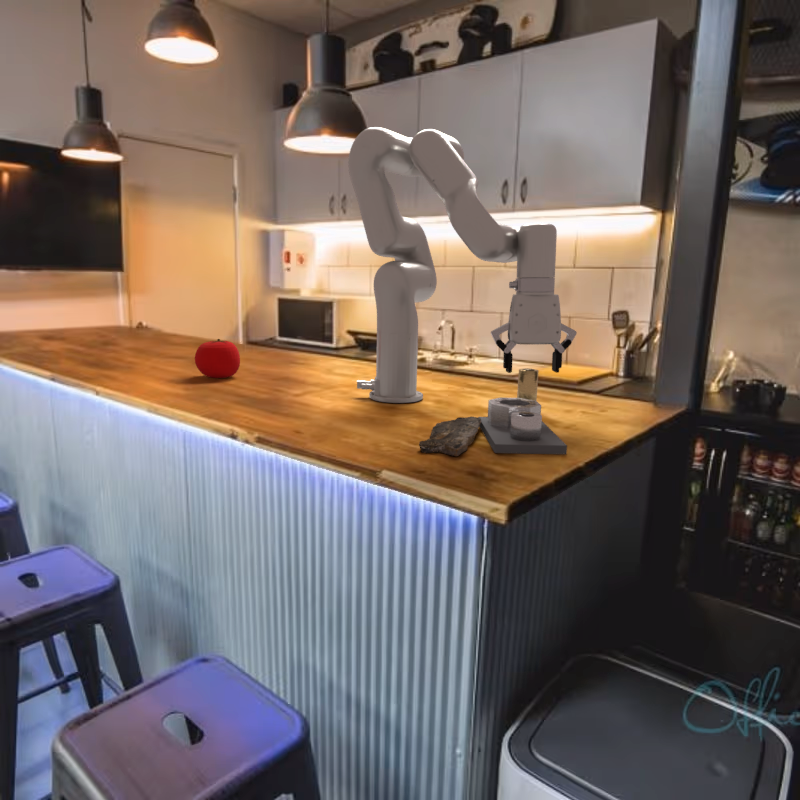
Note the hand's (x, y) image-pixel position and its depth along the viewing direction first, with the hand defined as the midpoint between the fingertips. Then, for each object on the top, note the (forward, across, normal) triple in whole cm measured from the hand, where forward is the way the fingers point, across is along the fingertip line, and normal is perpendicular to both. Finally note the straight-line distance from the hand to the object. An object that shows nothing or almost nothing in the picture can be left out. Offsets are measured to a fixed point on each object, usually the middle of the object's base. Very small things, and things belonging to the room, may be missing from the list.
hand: (532, 371), depth 127 cm
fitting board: (+10, -6, -16) cm, 20 cm away
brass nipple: (+10, -1, +1) cm, 10 cm away
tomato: (+7, -76, +42) cm, 87 cm away
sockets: (+8, -6, -15) cm, 18 cm away
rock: (+10, -18, -18) cm, 27 cm away
